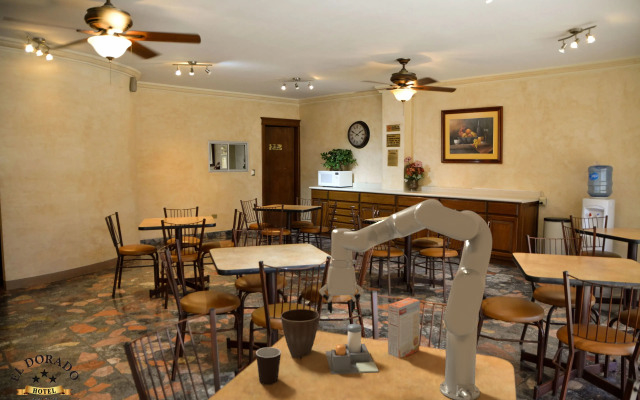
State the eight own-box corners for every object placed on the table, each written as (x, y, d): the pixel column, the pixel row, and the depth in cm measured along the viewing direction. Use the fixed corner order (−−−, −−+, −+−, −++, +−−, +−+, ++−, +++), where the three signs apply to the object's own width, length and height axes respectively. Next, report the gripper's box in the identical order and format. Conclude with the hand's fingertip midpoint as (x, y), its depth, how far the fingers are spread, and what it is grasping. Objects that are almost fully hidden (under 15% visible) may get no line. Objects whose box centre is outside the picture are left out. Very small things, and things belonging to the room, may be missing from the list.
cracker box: (407, 346, 191) (408, 296, 190) (419, 350, 187) (421, 299, 185) (386, 356, 182) (387, 303, 180) (399, 360, 177) (400, 307, 176)
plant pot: (291, 365, 172) (291, 323, 171) (274, 351, 185) (274, 312, 184) (325, 357, 180) (326, 317, 178) (307, 344, 193) (307, 306, 191)
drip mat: (378, 371, 166) (378, 370, 165) (359, 372, 165) (359, 371, 165) (374, 363, 172) (374, 362, 172) (355, 364, 172) (355, 362, 172)
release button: (346, 358, 167) (346, 348, 166) (336, 359, 166) (336, 348, 166) (344, 354, 170) (344, 344, 170) (335, 355, 170) (335, 344, 170)
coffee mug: (274, 388, 155) (274, 359, 154) (251, 383, 158) (251, 355, 157) (288, 373, 166) (288, 346, 165) (266, 369, 169) (266, 342, 168)
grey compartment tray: (378, 375, 165) (379, 357, 165) (331, 376, 163) (331, 359, 163) (367, 352, 185) (367, 336, 184) (325, 353, 183) (325, 337, 183)
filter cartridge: (362, 359, 176) (362, 328, 175) (348, 359, 175) (348, 328, 174) (359, 353, 181) (360, 323, 180) (346, 354, 181) (346, 324, 180)
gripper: (363, 260, 170) (363, 308, 172) (316, 261, 169) (316, 309, 170) (367, 265, 163) (367, 314, 164) (318, 266, 161) (318, 316, 163)
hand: (341, 311), depth 167 cm, fingers open, 7 cm apart
